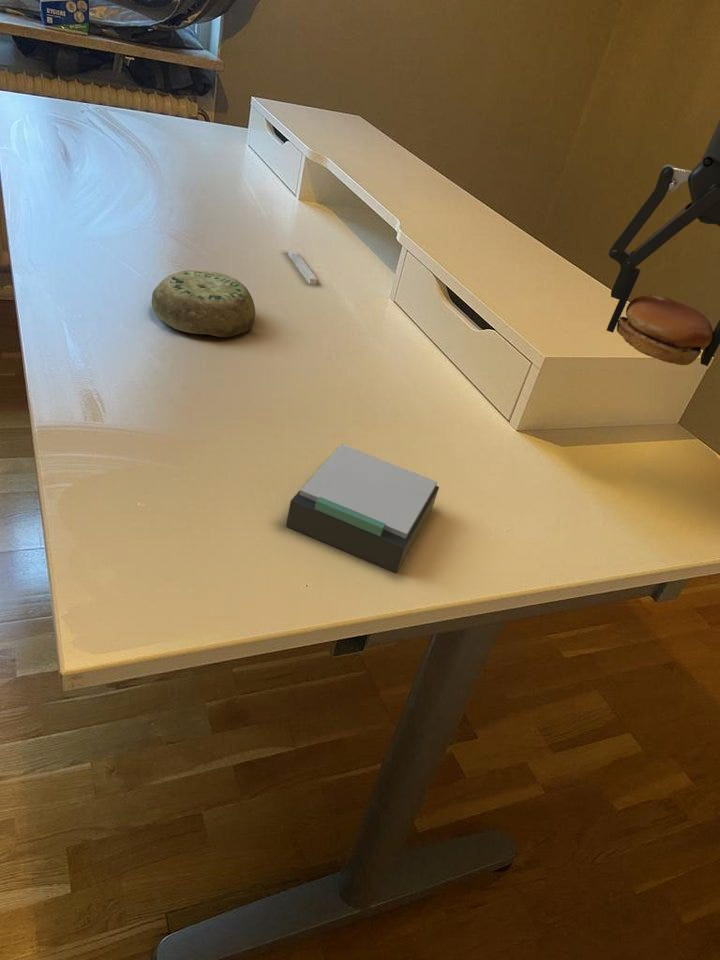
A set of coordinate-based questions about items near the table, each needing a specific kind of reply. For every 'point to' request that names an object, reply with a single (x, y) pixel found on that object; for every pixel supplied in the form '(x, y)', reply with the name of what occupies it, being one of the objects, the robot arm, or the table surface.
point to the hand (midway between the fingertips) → (657, 344)
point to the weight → (204, 303)
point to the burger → (665, 329)
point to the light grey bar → (302, 267)
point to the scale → (364, 506)
